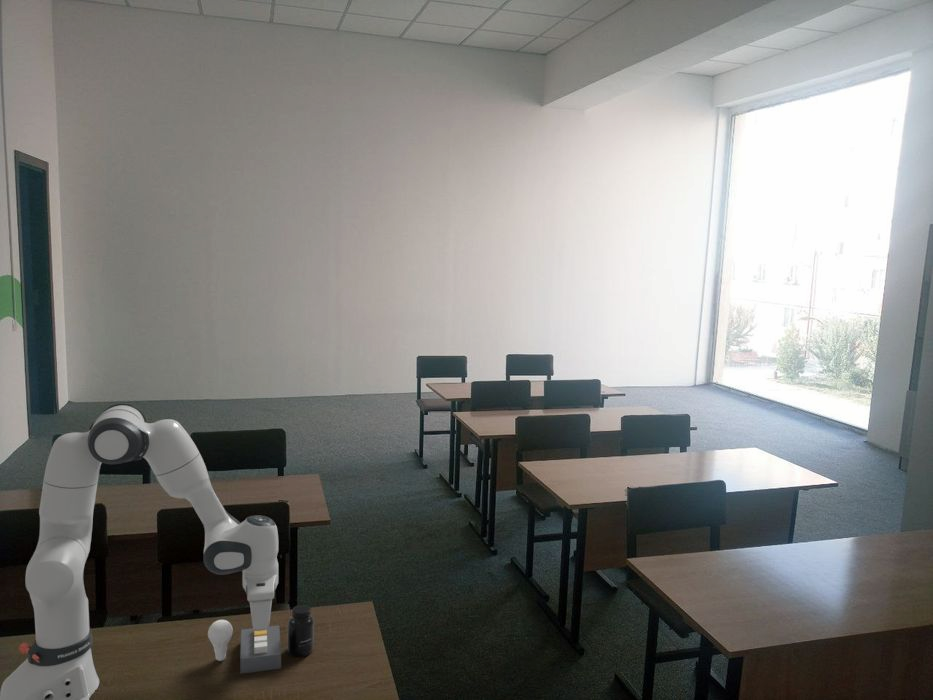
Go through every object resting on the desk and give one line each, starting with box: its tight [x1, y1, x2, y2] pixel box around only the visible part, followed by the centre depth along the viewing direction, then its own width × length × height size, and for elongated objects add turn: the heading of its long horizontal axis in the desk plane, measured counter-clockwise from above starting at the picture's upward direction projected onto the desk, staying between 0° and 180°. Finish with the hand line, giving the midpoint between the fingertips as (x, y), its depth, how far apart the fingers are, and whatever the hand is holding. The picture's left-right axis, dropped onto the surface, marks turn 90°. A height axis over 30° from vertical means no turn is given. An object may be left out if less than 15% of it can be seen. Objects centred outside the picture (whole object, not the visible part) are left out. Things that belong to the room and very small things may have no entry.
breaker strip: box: [239, 625, 282, 674], centre depth 189 cm, size 22×10×6 cm, turn 17°
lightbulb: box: [207, 619, 234, 662], centre depth 182 cm, size 6×6×11 cm
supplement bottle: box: [287, 604, 315, 658], centre depth 188 cm, size 7×7×12 cm
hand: (260, 627), depth 181 cm, fingers closed
